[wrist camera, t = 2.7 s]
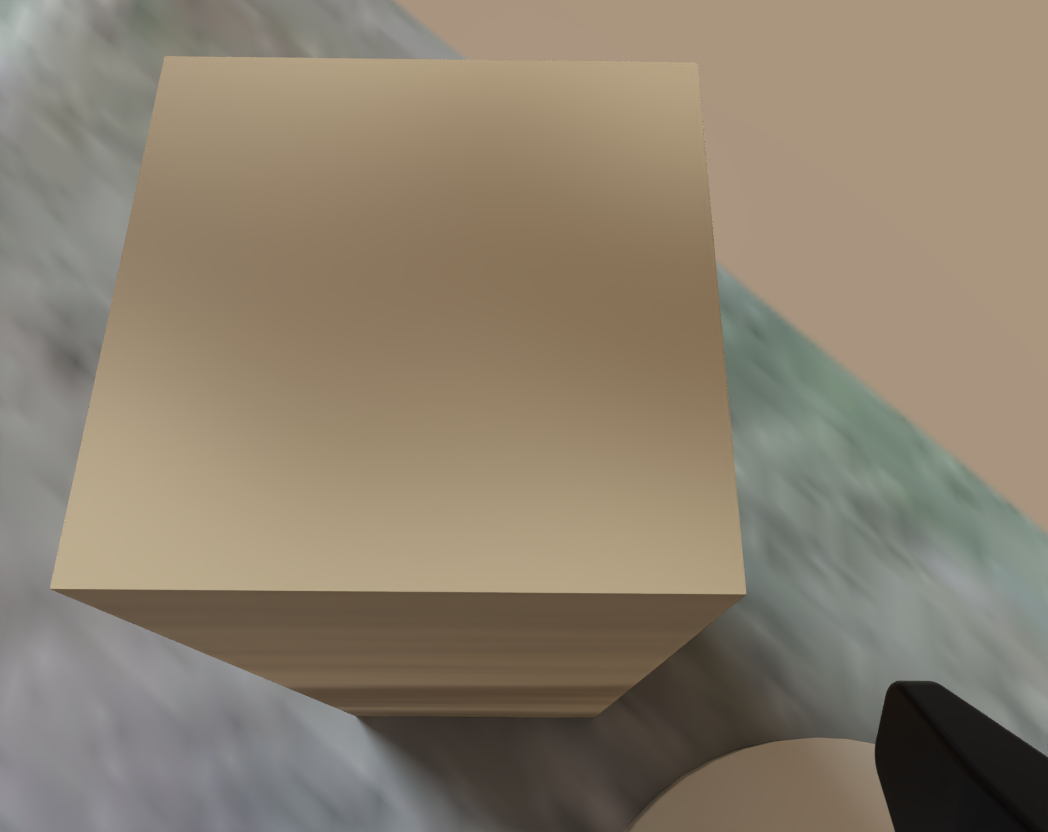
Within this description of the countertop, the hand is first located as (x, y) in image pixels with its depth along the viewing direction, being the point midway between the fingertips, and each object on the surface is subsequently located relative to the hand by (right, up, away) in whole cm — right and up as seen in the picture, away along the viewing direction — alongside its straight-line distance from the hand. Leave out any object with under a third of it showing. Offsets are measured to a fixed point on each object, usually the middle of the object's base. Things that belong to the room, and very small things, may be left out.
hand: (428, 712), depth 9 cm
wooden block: (0, -1, +11) cm, 11 cm away
